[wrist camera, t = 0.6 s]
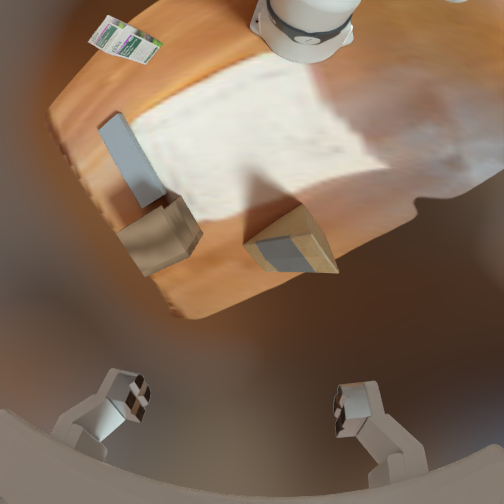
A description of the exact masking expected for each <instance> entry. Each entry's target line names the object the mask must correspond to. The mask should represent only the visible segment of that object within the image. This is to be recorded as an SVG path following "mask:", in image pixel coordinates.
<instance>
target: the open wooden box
mask: <svg viewBox="0 0 504 504" xmlns="http://www.w3.org/2000/svg"><path fill="white" fill-rule="evenodd" d="M116 234H117V236H118V237H119V239H120V240H121V242H122V243H123V245H124V247H125V248H126V250H127V251H128V253H129V254H130V256H131V257H132V259H133V260H134V262H135V263H136V265H137V266H138V267H139V269H140V270H141V272H142V273H143V275H144V276H145V277H147V276H149V275H151V274H153V273H155V272H157V271H160V270H162V269H164V268H166V267H168V266H171V265H173V264H175V263H177V262H180V261H182V260H184V259H186V258H189V257H190V255H191V254H192V252H193V250H194V249H195V247H196V245H197V244H198V242H199V240H200V239H201V237H202V235H203V232H202V231H201V229H200V227H199V226H198V224H197V222H196V220H195V219H194V217H193V215H192V214H191V212H190V210H189V208H188V207H187V205H186V203H185V202H184V200H183V198H182V196H180V197H178V198H177V199H176V200H174V201H173V202H172V203H171V204H170V205H168V206H167V207H166V208H165V209H163V207H162V205H161V206H160V207H158V208H156V209H154V210H153V211H151V212H149V213H148V214H146V215H144V216H143V217H141V218H139V219H138V220H136V221H135V222H133V223H131V224H130V225H128V226H127V227H125V228H123V229H122V230H120V231H119V232H118V233H116Z"/></svg>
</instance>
